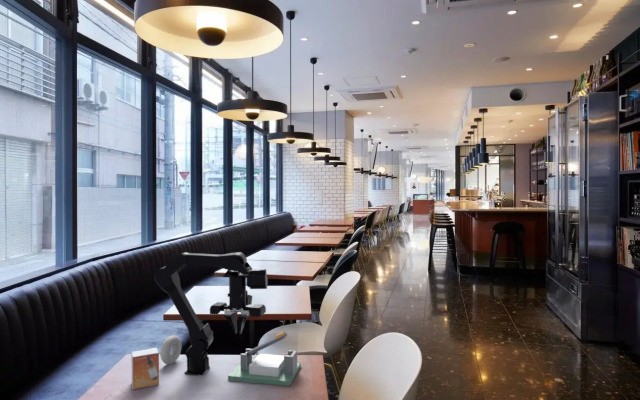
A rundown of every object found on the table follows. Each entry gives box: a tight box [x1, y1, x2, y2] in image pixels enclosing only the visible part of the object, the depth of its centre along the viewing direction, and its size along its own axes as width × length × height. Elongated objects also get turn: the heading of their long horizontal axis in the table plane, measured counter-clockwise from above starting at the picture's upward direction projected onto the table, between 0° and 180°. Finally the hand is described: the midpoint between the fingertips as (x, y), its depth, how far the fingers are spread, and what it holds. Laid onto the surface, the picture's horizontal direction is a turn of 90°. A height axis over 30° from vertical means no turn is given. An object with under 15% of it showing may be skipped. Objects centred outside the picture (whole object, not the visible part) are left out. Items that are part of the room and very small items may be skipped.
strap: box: [244, 330, 288, 356], centre depth 141 cm, size 17×3×2 cm, turn 78°
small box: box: [131, 347, 160, 390], centre depth 134 cm, size 8×6×10 cm
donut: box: [159, 335, 182, 365], centre depth 150 cm, size 10×4×10 cm, turn 164°
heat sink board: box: [227, 348, 302, 387], centre depth 141 cm, size 21×15×8 cm
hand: (238, 333), depth 143 cm, fingers closed
